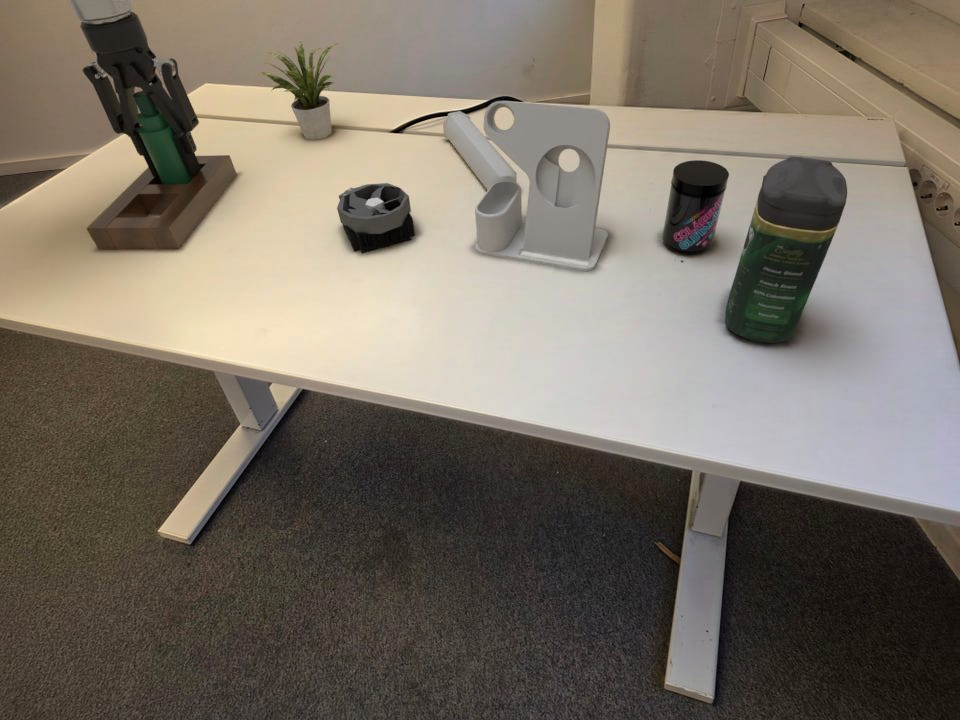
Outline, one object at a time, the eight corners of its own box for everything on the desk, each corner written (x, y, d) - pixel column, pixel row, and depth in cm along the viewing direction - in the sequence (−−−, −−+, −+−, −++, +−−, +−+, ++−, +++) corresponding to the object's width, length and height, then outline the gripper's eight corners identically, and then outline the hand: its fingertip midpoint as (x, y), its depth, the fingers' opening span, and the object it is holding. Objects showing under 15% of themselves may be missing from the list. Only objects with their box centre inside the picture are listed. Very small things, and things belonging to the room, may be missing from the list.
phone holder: (470, 253, 85) (459, 127, 72) (495, 216, 91) (489, 95, 79) (592, 274, 79) (602, 142, 67) (609, 233, 86) (622, 106, 74)
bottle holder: (99, 251, 92) (85, 228, 89) (168, 177, 108) (158, 156, 105) (180, 251, 90) (168, 227, 87) (237, 176, 106) (229, 155, 104)
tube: (527, 173, 92) (473, 112, 109) (495, 170, 90) (445, 108, 107) (517, 205, 96) (466, 141, 113) (486, 202, 93) (439, 138, 110)
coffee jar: (793, 353, 67) (855, 202, 54) (719, 337, 69) (761, 190, 57) (798, 301, 73) (854, 154, 60) (729, 288, 76) (769, 145, 63)
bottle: (164, 204, 101) (115, 101, 89) (179, 187, 105) (133, 87, 93) (196, 204, 100) (150, 100, 89) (209, 187, 104) (168, 85, 92)
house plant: (334, 111, 125) (313, 24, 114) (372, 129, 117) (355, 38, 106) (272, 135, 118) (244, 45, 107) (309, 155, 111) (283, 61, 99)
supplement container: (658, 253, 82) (670, 182, 75) (663, 227, 86) (675, 158, 79) (710, 260, 80) (728, 188, 73) (713, 232, 85) (730, 162, 77)
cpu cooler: (416, 206, 84) (345, 224, 82) (421, 241, 88) (354, 260, 85) (395, 175, 91) (329, 191, 89) (401, 208, 95) (338, 225, 93)
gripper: (182, 4, 85) (239, 160, 101) (61, 11, 87) (135, 163, 103) (157, 21, 80) (221, 182, 96) (29, 27, 82) (113, 184, 98)
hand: (177, 172), depth 100 cm, fingers closed on bottle, 6 cm apart
